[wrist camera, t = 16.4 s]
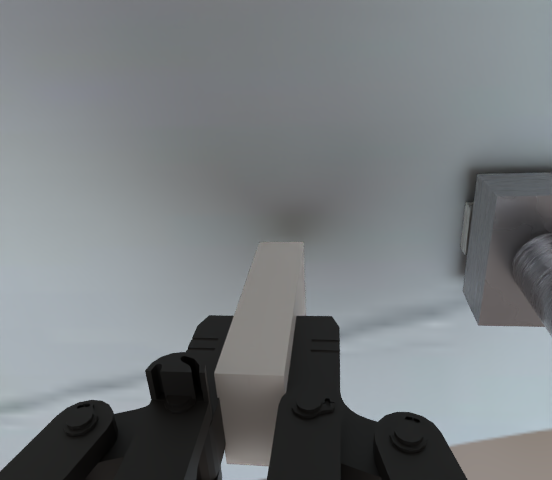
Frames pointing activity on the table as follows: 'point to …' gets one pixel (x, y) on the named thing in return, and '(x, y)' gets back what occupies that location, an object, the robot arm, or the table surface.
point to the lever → (511, 251)
